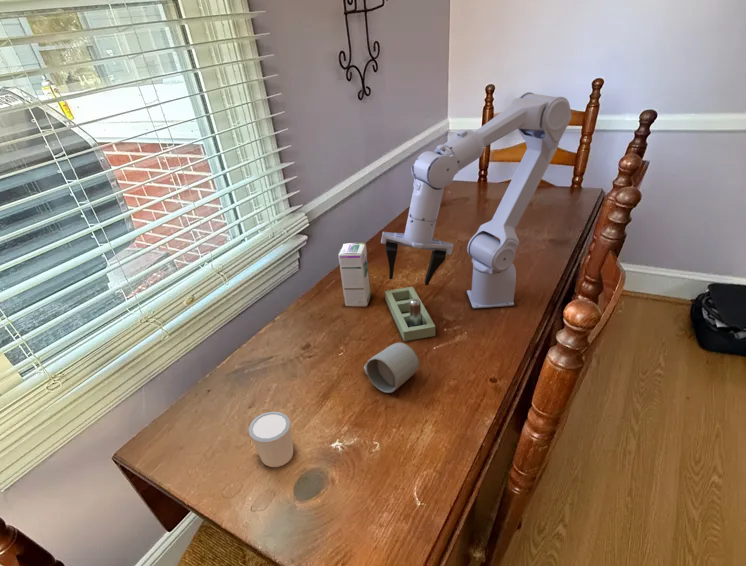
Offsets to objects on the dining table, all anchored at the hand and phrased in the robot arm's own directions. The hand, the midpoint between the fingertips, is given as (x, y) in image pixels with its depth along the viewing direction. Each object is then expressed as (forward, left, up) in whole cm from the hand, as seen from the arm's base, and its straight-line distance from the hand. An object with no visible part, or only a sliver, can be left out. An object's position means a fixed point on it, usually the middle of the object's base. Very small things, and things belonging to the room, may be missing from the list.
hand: (408, 280), depth 101 cm
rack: (0, -4, -12) cm, 13 cm away
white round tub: (+26, +36, -12) cm, 46 cm away
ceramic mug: (+6, +18, -12) cm, 22 cm away
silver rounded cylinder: (-1, +1, -12) cm, 12 cm away
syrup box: (+12, -13, -12) cm, 21 cm away
